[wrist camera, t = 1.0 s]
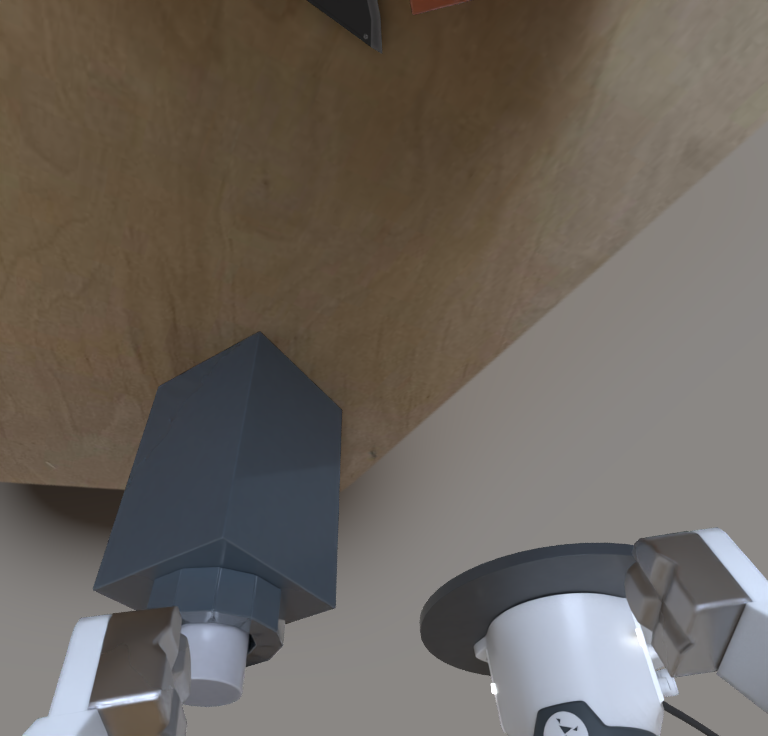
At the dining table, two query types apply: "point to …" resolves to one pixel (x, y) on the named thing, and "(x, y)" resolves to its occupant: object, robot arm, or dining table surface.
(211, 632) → the cylinder
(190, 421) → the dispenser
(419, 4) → the button base
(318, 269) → the dining table surface
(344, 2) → the knife
